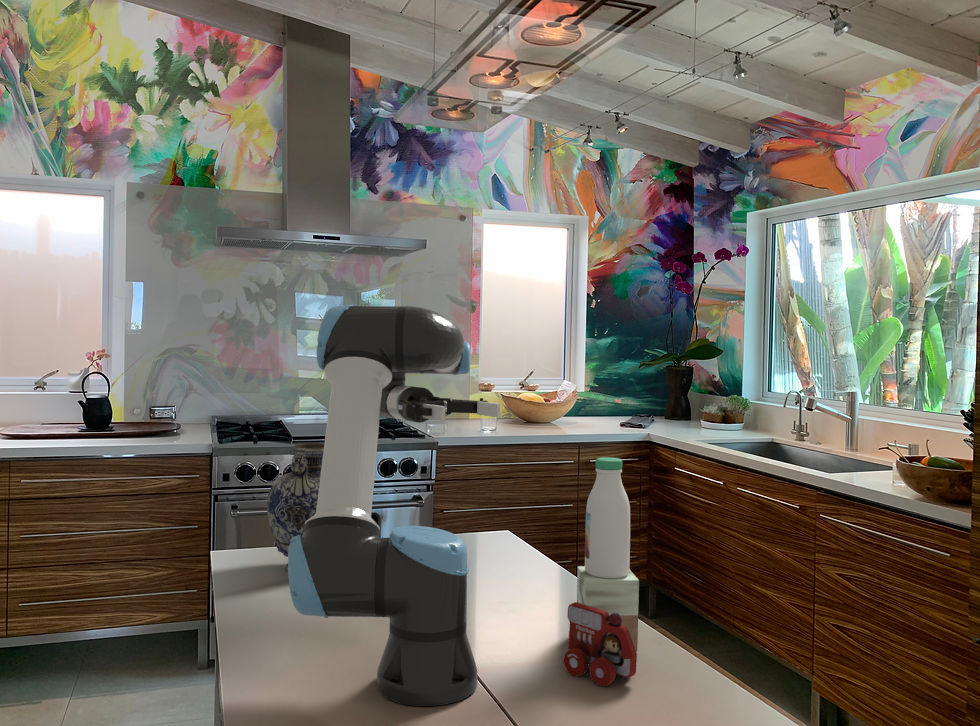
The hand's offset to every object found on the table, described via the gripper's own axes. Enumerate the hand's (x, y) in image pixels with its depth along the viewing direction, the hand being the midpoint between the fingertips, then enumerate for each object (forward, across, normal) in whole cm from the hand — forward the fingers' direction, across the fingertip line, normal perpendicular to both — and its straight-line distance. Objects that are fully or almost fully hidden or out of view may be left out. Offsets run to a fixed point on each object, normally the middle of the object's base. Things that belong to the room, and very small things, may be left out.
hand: (472, 412), depth 160 cm
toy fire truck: (+39, +4, -38) cm, 55 cm away
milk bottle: (+30, -7, -26) cm, 40 cm away
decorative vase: (-40, +14, -38) cm, 57 cm away
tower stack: (+30, -7, -38) cm, 49 cm away
